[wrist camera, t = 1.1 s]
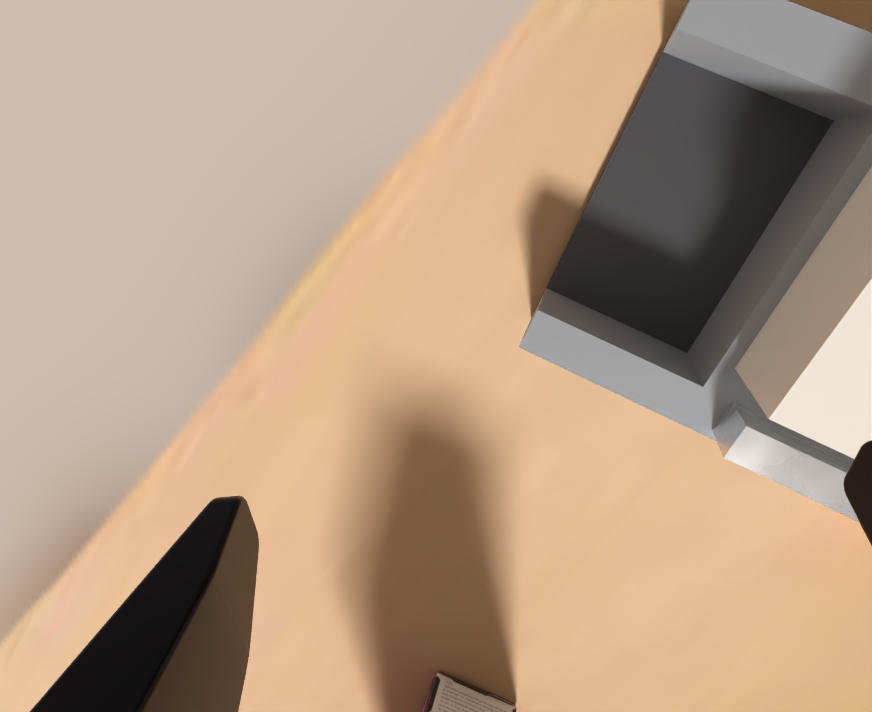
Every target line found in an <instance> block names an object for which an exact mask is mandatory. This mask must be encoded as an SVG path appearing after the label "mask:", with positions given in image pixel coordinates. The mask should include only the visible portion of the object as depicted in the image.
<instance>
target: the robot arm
mask: <svg viewBox="0 0 872 712" xmlns="http://www.w3.org/2000/svg"><path fill="white" fill-rule="evenodd" d="M843 485H844V491H845V494H846V497H847V499H848V500H849V502H850V504H851V506H852V508H853V510H854V512H855V514H856V516H857V518H858V520H859V522H860V524H861V526H862V528H863V530H864V532H865V534H866V536H867V538H868V540H869V541H870V543H871V545H872V440H871V441H867V442H866V443H864V444H863V445H862V446H861V448H860V450H859V451H858V453H857V455H856V457H855V459H854V461H853V462H852V464H851V466H850V468H849V470H848V472H847V473H846V475H845V477H844V482H843ZM258 550H259V539H258V533H257V529H256V526H255V524H254V521H253V518H252V515H251V512H250V509H249V507H248V504H247V501H246V500H245V499H244V497H242V496H231V497H220V498H215V499H213V500H212V501H211V502H210V503H209V504H208V505H207V506H206V507H205V508H204V509H203V511H202V512H201V513H200V514H199V515H198V516H197V518H196V519H195V520H194V521H193V522H192V523H191V525H190V526H189V527H188V528H187V529H186V530H185V532H184V533H183V534H182V535H181V536H180V537H179V539H178V540H177V541H176V542H175V543H174V544H173V546H172V547H171V548H170V549H169V550H168V551H167V553H166V554H165V555H164V556H163V557H162V558H161V560H160V561H159V562H158V563H157V564H156V565H155V567H154V568H153V569H152V570H151V571H150V572H149V573H148V575H147V576H146V577H145V578H144V579H143V580H142V582H141V583H140V584H139V585H138V586H137V587H136V589H135V590H134V591H133V592H132V593H131V594H130V596H129V597H128V598H127V599H126V600H125V601H124V603H123V604H122V605H121V606H120V607H119V608H118V610H117V611H116V612H115V613H114V614H113V615H112V617H111V618H110V619H109V620H108V621H107V622H106V624H105V625H104V626H103V627H102V628H101V629H100V631H99V632H98V633H97V634H96V635H95V636H94V638H93V639H92V640H91V641H90V642H89V643H88V645H87V646H86V647H85V648H84V649H83V650H82V652H81V653H80V654H79V655H78V656H77V657H76V659H75V660H74V661H73V662H72V663H71V664H70V666H69V667H68V668H67V669H66V670H65V671H64V673H63V674H62V675H61V676H60V677H59V678H58V680H57V681H56V682H55V683H54V684H53V685H52V687H51V688H50V689H49V690H48V691H47V692H46V694H45V695H44V696H43V697H42V698H41V699H40V701H39V702H38V703H37V704H36V705H35V706H34V708H33V709H32V710H31V711H30V712H238V710H239V705H240V700H241V695H242V690H243V685H244V680H245V675H246V669H247V663H248V657H249V650H250V641H251V630H252V619H253V607H254V596H255V585H256V573H257V562H258Z"/></svg>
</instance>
